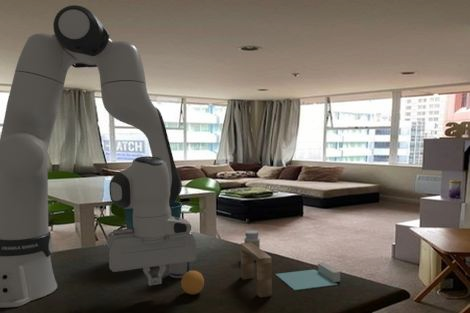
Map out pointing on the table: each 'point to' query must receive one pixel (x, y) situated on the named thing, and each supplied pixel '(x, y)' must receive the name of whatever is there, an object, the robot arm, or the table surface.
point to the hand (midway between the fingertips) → (155, 283)
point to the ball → (192, 282)
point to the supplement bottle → (252, 238)
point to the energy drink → (179, 269)
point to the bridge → (263, 268)
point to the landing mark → (305, 279)
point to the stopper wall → (329, 272)
